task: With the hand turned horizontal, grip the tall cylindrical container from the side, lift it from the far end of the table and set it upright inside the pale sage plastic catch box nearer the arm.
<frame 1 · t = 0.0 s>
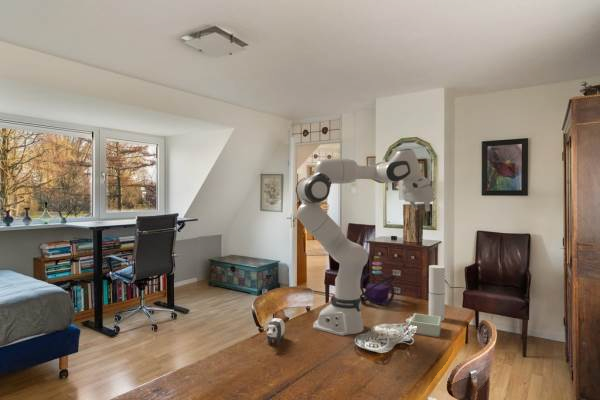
hand: (421, 210, 173), 52 cm above the table, tool tilted 20°, fingers open, 8 cm apart
giant panda: (274, 343, 149), on the table
catch box: (425, 330, 162), on the table
decorative bottle: (376, 302, 203), on the table
cylindrical container: (436, 318, 177), on the table
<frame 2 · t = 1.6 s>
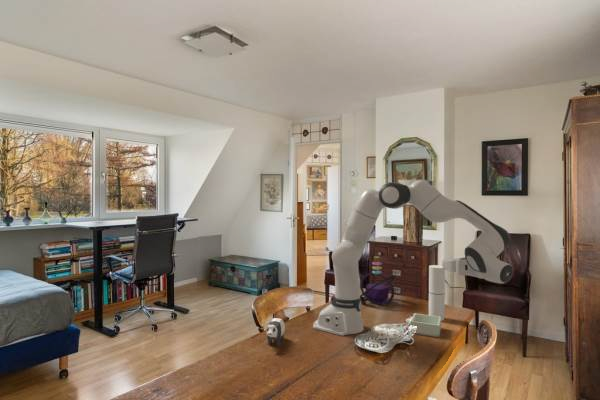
hand: (453, 260, 164), 30 cm above the table, tool horizontal, fingers open, 8 cm apart
nothing on the table moved.
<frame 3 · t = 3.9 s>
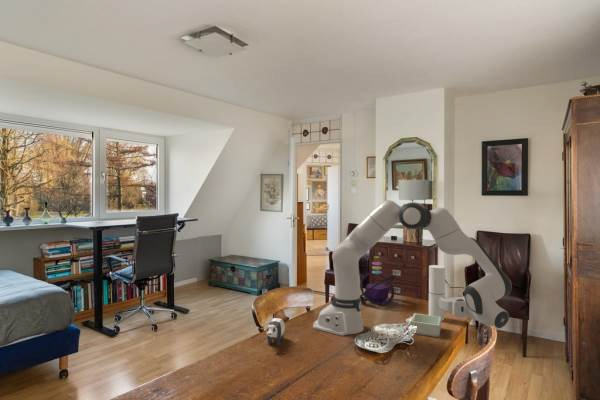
hand: (450, 297, 166), 13 cm above the table, tool horizontal, fingers open, 8 cm apart
nothing on the table moved.
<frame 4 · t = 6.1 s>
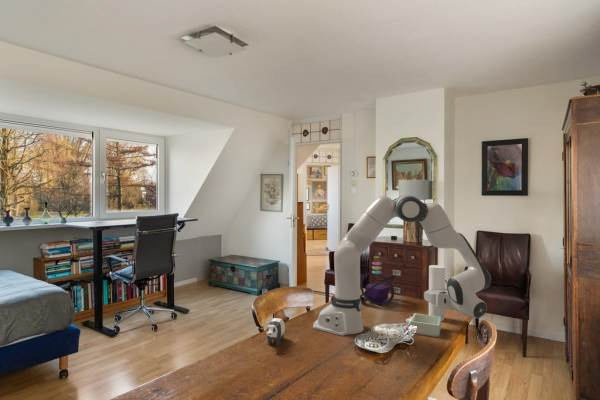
hand: (435, 291, 177), 13 cm above the table, tool horizontal, fingers closed on cylindrical container, 7 cm apart
cylindrical container: (436, 318, 177), on the table, touching gripper
everything else where it was.
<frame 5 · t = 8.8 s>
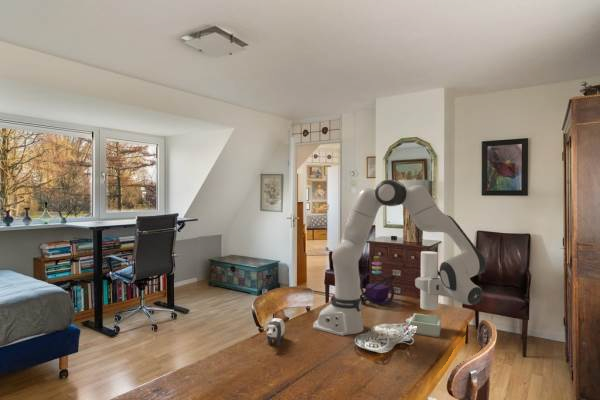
hand: (427, 278, 166), 22 cm above the table, tool horizontal, fingers closed on cylindrical container, 7 cm apart
cylindrical container: (428, 308, 166), point 8 cm above the table, touching gripper
everything else where it was.
when the fingers open (15 cm above the table, at t = 11.5 s): cylindrical container stays where it is, resting on catch box.
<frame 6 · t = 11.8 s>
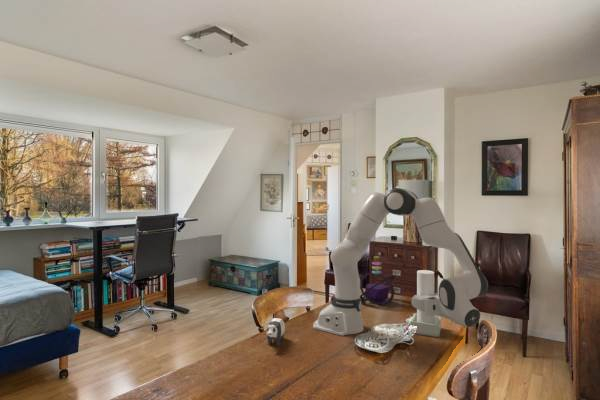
hand: (424, 295, 162), 15 cm above the table, tool horizontal, fingers open, 8 cm apart
cylindrical container: (425, 328, 162), point 1 cm above the table, touching catch box
everything else where it was.
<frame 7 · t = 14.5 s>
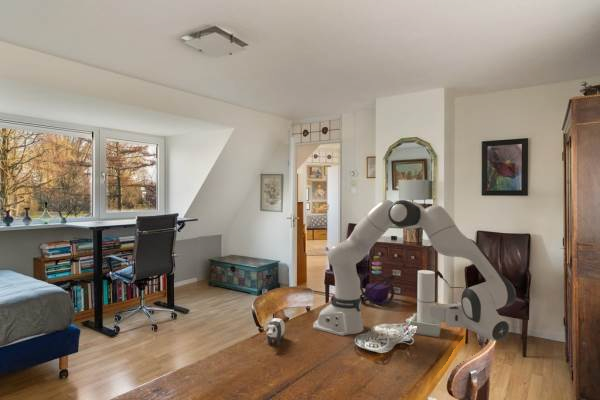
hand: (444, 304, 150), 15 cm above the table, tool horizontal, fingers open, 8 cm apart
nothing on the table moved.
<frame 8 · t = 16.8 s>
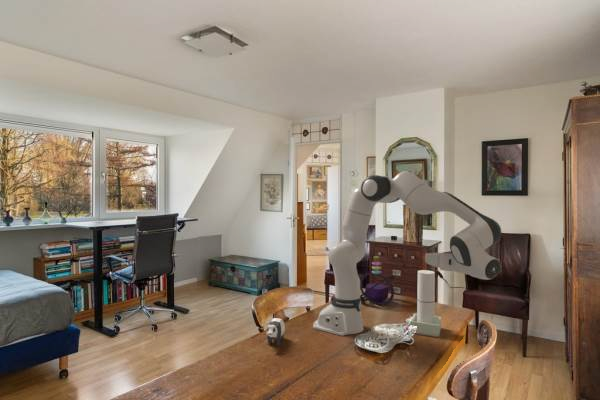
hand: (438, 254, 152), 35 cm above the table, tool horizontal, fingers open, 8 cm apart
nothing on the table moved.
at the end: cylindrical container 0.1 cm off-centre on the catch box, point 0.6 cm above the catch box's base; cylindrical container tilted 0°; the gripper is holding nothing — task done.
